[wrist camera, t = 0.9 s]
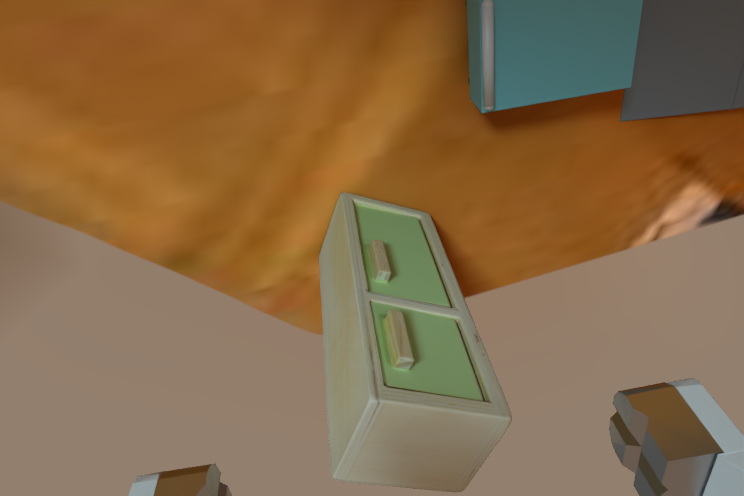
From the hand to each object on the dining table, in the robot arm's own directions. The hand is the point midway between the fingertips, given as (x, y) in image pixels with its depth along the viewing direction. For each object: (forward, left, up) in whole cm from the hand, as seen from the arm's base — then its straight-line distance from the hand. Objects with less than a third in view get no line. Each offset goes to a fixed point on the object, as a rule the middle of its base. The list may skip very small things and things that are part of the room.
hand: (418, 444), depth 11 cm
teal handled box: (0, +13, -31) cm, 33 cm away
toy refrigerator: (+14, 0, -31) cm, 34 cm away
